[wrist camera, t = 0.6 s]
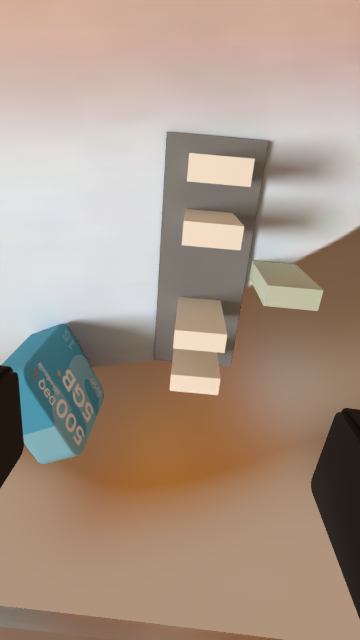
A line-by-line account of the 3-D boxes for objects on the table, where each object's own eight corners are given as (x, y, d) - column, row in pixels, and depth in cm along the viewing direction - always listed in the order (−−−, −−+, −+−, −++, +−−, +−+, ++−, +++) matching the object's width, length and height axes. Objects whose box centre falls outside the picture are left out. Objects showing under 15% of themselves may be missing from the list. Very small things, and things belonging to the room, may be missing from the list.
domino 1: (190, 156, 34) (189, 152, 25) (240, 161, 34) (254, 158, 25) (188, 178, 34) (186, 181, 26) (237, 182, 34) (250, 187, 26)
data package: (106, 393, 47) (79, 461, 36) (78, 401, 48) (43, 471, 37) (64, 319, 42) (19, 371, 31) (34, 330, 43) (-21, 385, 32)
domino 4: (175, 334, 42) (170, 374, 34) (215, 337, 42) (220, 378, 34) (174, 347, 43) (169, 390, 34) (213, 351, 43) (217, 395, 34)
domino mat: (167, 132, 33) (166, 131, 33) (267, 141, 33) (268, 140, 33) (154, 357, 44) (153, 359, 44) (230, 364, 44) (230, 366, 43)
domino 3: (178, 296, 40) (174, 329, 32) (220, 300, 40) (227, 334, 32) (177, 312, 41) (173, 348, 32) (218, 315, 41) (224, 353, 32)
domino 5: (252, 260, 38) (267, 285, 30) (295, 264, 38) (323, 290, 30) (249, 277, 39) (263, 305, 31) (291, 280, 39) (317, 310, 31)
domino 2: (186, 208, 36) (183, 220, 27) (232, 212, 36) (244, 226, 27) (184, 227, 36) (181, 245, 28) (230, 232, 36) (240, 250, 28)
